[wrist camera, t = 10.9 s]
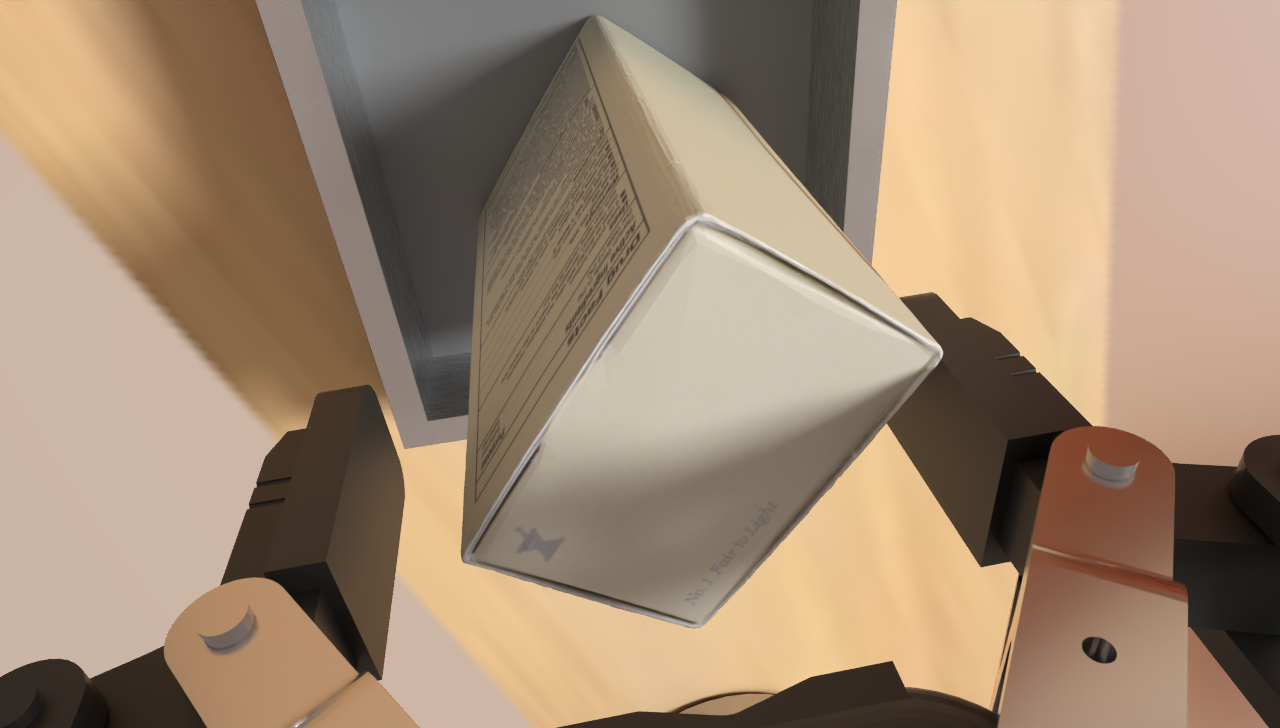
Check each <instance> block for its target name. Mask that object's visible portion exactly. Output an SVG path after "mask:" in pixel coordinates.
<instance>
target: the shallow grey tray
mask: <svg viewBox="0 0 1280 728" xmlns="http://www.w3.org/2000/svg"><path fill="white" fill-rule="evenodd" d="M255 1H256V4H257V7H258V10H259V13H260V16H261V19H262V22H263V25H264V28H265V31H266V34H267V37H268V40H269V43H270V46H271V49H272V52H273V55H274V58H275V61H276V64H277V67H278V70H279V73H280V76H281V79H282V82H283V85H284V88H285V91H286V94H287V97H288V100H289V103H290V106H291V109H292V112H293V115H294V118H295V121H296V124H297V127H298V130H299V133H300V136H301V139H302V142H303V145H304V148H305V151H306V154H307V157H308V160H309V163H310V166H311V169H312V172H313V175H314V178H315V181H316V184H317V187H318V190H319V193H320V196H321V199H322V202H323V205H324V208H325V211H326V214H327V217H328V220H329V223H330V226H331V229H332V232H333V235H334V238H335V241H336V244H337V247H338V250H339V253H340V256H341V259H342V262H343V265H344V268H345V271H346V274H347V277H348V280H349V283H350V286H351V289H352V292H353V295H354V299H355V302H356V305H357V308H358V311H359V314H360V317H361V320H362V323H363V326H364V329H365V332H366V335H367V338H368V341H369V344H370V347H371V350H372V353H373V356H374V359H375V362H376V365H377V368H378V371H379V374H380V377H381V380H382V383H383V386H384V389H385V392H386V395H387V398H388V401H389V404H390V407H391V410H392V413H393V416H394V419H395V422H396V425H397V428H398V431H399V434H400V437H401V440H402V443H403V446H404V449H408V448H414V447H420V446H427V445H433V444H440V443H446V442H452V441H459V440H465V439H467V429H468V414H469V391H470V371H471V354H472V352H467V353H460V354H453V355H446V356H440V357H434V353H433V350H432V346H431V343H430V339H429V336H428V332H427V328H426V325H425V321H424V318H423V314H422V311H421V307H420V303H419V300H418V296H417V293H416V289H415V285H414V282H413V278H412V275H411V271H410V268H409V264H408V260H407V257H406V253H405V250H404V246H403V242H402V239H401V235H400V232H399V228H398V225H397V221H396V217H395V214H394V210H393V207H392V203H391V199H390V196H389V192H388V189H387V185H386V182H385V178H384V174H383V171H382V167H381V164H380V160H379V156H378V153H377V149H376V146H375V142H374V139H373V135H372V131H371V128H370V124H369V121H368V117H367V113H366V110H365V106H364V103H363V99H362V96H361V92H360V88H359V85H358V81H357V78H356V74H355V70H354V67H353V63H352V60H351V56H350V53H349V49H348V45H347V42H346V38H345V35H344V31H343V28H342V24H341V20H340V17H339V13H338V10H337V6H336V2H335V0H255ZM896 7H897V0H813V6H812V30H811V55H810V80H809V105H808V129H807V154H806V179H805V188H806V189H807V191H808V192H809V193H810V194H811V196H812V197H813V198H814V199H815V200H816V201H817V202H818V204H819V205H820V206H821V207H822V208H823V209H824V210H825V212H826V213H827V214H828V215H829V216H830V217H831V219H832V220H833V221H834V222H835V223H836V225H837V226H838V227H839V228H840V229H841V231H842V232H843V233H844V234H845V235H846V236H847V237H848V239H849V240H850V241H851V242H852V243H853V244H854V246H855V247H856V248H857V249H858V250H859V251H860V253H861V254H862V255H863V256H864V257H865V259H866V260H867V261H868V262H869V263H870V264H871V265H872V254H873V244H874V234H875V223H876V213H877V203H878V193H879V182H880V172H881V162H882V151H883V141H884V131H885V120H886V110H887V100H888V89H889V79H890V69H891V58H892V48H893V38H894V27H895V17H896Z"/></svg>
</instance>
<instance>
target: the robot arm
mask: <svg viewBox="0 0 1280 728" xmlns="http://www.w3.org/2000/svg"><path fill="white" fill-rule="evenodd" d="M899 299H900V300H901V301H902V302H903V303H904V305H905V306H906V307H907V308H908V309H909V310H910V311H911V312H912V313H913V315H914V316H915V317H916V318H917V320H918V321H919V322H920V323H921V324H922V326H923V327H924V328H925V329H926V330H927V331H928V333H929V334H930V335H931V336H932V337H933V338H934V339H935V341H936V342H937V343H938V344H939V345H940V346H941V348H942V350H943V356H942V358H941V360H940V361H939V363H938V364H937V366H936V367H935V368H934V369H933V370H932V371H931V372H930V373H929V375H928V376H927V377H926V378H925V380H924V381H923V382H922V383H921V384H920V385H919V386H918V388H917V389H916V390H915V391H914V393H913V394H912V395H911V396H910V397H909V398H908V399H907V400H906V401H905V403H904V404H903V405H902V406H901V407H900V408H899V410H898V411H897V412H896V413H895V414H894V415H893V416H892V418H891V419H890V420H889V421H888V422H887V424H888V426H889V427H890V429H891V430H892V432H893V433H894V435H895V436H896V438H897V440H898V441H899V443H900V444H901V446H902V447H903V449H904V450H905V452H906V453H907V455H908V456H909V458H910V459H911V461H912V463H913V464H914V466H915V467H916V469H917V470H918V472H919V473H920V475H921V476H922V478H923V479H924V481H925V482H926V484H927V486H928V487H929V489H930V490H931V492H932V493H933V495H934V496H935V498H936V499H937V501H938V502H939V504H940V505H941V507H942V509H943V510H944V512H945V513H946V515H947V516H948V518H949V519H950V521H951V522H952V524H953V525H954V527H955V528H956V530H957V532H958V533H959V535H960V536H961V538H962V539H963V541H964V542H965V544H966V545H967V547H968V548H969V550H970V551H971V553H972V555H973V556H974V558H975V559H976V561H977V562H978V564H979V565H980V567H984V566H990V565H995V564H1000V563H1005V562H1010V561H1011V562H1012V564H1013V565H1014V567H1015V568H1016V570H1017V571H1018V572H1019V574H1018V578H1017V582H1016V586H1015V590H1014V595H1013V599H1012V604H1011V609H1010V614H1009V619H1008V623H1007V628H1006V633H1005V638H1004V642H1003V647H1002V652H1001V657H1000V662H999V666H998V671H997V676H996V681H995V685H994V690H993V695H992V699H991V703H990V708H989V710H988V709H986V708H984V707H982V706H980V705H977V704H975V703H972V702H970V701H967V700H964V699H962V698H959V697H956V696H952V695H949V694H945V693H941V692H937V691H932V690H926V689H920V688H910V687H904V684H903V682H902V680H901V678H900V676H899V674H898V672H897V670H896V668H895V665H894V663H893V661H890V662H885V663H880V664H875V665H870V666H865V667H860V668H855V669H849V670H844V671H839V672H834V673H829V674H824V675H819V676H814V677H810V678H808V679H806V680H804V681H802V682H800V683H798V684H796V685H794V686H792V687H790V688H788V689H785V690H783V691H781V692H779V693H777V694H775V695H771V694H743V695H734V696H727V697H723V698H719V699H715V700H711V701H707V702H704V703H701V704H699V705H696V706H693V707H691V708H688V709H686V710H684V711H682V712H680V713H661V712H639V711H638V712H633V713H628V714H623V715H618V716H613V717H608V718H603V719H598V720H593V721H588V722H583V723H578V724H573V725H568V726H563V727H558V728H1187V670H1188V668H1187V667H1188V664H1187V663H1188V662H1187V661H1188V627H1191V628H1192V630H1193V631H1194V632H1195V633H1196V635H1197V636H1198V637H1199V638H1200V640H1201V641H1202V643H1203V644H1204V645H1205V646H1206V648H1207V649H1208V650H1209V652H1210V653H1211V654H1212V655H1213V657H1214V658H1215V659H1216V660H1217V662H1218V663H1219V664H1220V666H1221V667H1222V668H1223V669H1224V671H1225V672H1226V673H1227V674H1228V676H1229V677H1230V678H1231V680H1232V681H1233V682H1234V684H1235V685H1236V686H1237V687H1238V689H1239V690H1240V691H1241V692H1242V694H1243V695H1244V696H1245V698H1246V699H1247V700H1248V701H1249V703H1250V704H1251V705H1252V707H1253V708H1254V709H1255V710H1256V712H1257V713H1258V714H1259V715H1260V717H1261V718H1262V719H1263V721H1264V722H1265V723H1266V724H1267V726H1268V727H1269V728H1280V435H1272V436H1266V437H1262V438H1259V439H1257V440H1254V441H1253V442H1251V443H1250V444H1249V445H1248V446H1247V447H1246V448H1245V451H1244V453H1243V456H1242V458H1241V460H1240V462H1239V465H1238V467H1231V466H1213V465H1195V464H1178V463H1171V461H1170V460H1169V458H1168V457H1167V456H1166V455H1165V454H1164V453H1163V452H1162V451H1161V450H1160V449H1159V448H1157V447H1156V446H1155V445H1154V444H1152V443H1150V442H1149V441H1146V440H1145V439H1143V438H1141V437H1139V436H1137V435H1135V434H1132V433H1129V432H1126V431H1123V430H1119V429H1115V428H1109V427H1100V426H1092V425H1091V424H1090V423H1089V422H1088V421H1087V420H1086V419H1085V418H1084V417H1083V416H1082V415H1081V414H1080V413H1079V412H1078V411H1077V410H1076V409H1075V408H1074V407H1073V406H1072V405H1071V404H1070V403H1069V402H1068V401H1067V400H1066V399H1065V398H1064V397H1063V396H1062V395H1061V394H1060V393H1059V392H1058V391H1057V389H1056V388H1055V387H1054V386H1053V385H1052V384H1051V383H1050V382H1049V381H1048V380H1047V379H1046V378H1045V377H1044V376H1043V375H1042V374H1041V373H1040V372H1039V373H1036V370H1035V369H1036V368H1035V367H1034V366H1033V365H1032V364H1031V363H1030V362H1029V361H1028V360H1027V359H1026V358H1025V357H1024V356H1020V352H1019V351H1018V350H1017V349H1016V348H1015V347H1014V346H1013V345H1012V344H1011V343H1010V342H1009V341H1008V340H1007V339H1006V338H1005V337H1004V336H1003V335H1002V334H1001V333H1000V332H998V331H996V330H994V329H993V328H991V327H989V326H987V325H985V324H983V323H981V322H979V321H977V320H975V319H973V318H971V317H970V318H964V319H959V318H958V316H957V315H956V314H955V313H954V312H953V311H952V310H951V309H950V308H949V307H948V306H947V305H946V304H945V302H944V301H943V300H942V299H941V298H940V297H939V296H938V295H937V294H935V293H932V292H931V293H925V294H919V295H913V296H907V297H901V298H899ZM404 499H405V489H404V479H403V473H402V468H401V464H400V461H399V457H398V455H397V452H396V449H395V446H394V444H393V441H392V438H391V435H390V432H389V430H388V427H387V424H386V421H385V418H384V416H383V413H382V410H381V407H380V404H379V402H378V399H377V396H376V394H375V392H374V390H373V388H372V387H371V386H370V385H364V386H358V387H352V388H346V389H340V390H334V391H328V392H322V393H319V394H318V395H317V396H316V398H315V401H314V405H313V408H312V411H311V415H310V418H309V421H308V425H307V428H306V429H300V430H294V431H288V432H287V433H286V434H285V435H284V436H283V437H282V439H281V440H280V441H279V442H278V443H277V444H276V445H275V446H274V448H273V449H272V450H271V451H270V452H269V453H268V455H267V456H266V457H265V459H264V462H263V465H262V468H261V471H260V474H259V476H258V479H257V488H254V491H253V494H252V496H251V500H250V502H249V507H250V508H249V509H248V510H247V511H246V513H245V516H244V519H243V522H242V525H241V528H240V530H239V533H238V536H237V539H236V542H235V545H234V548H233V550H232V553H231V556H230V559H229V562H228V565H227V567H226V571H225V573H224V576H223V579H222V582H221V585H220V586H219V587H217V588H214V589H213V590H211V591H209V592H207V593H206V594H204V595H202V596H201V597H200V598H198V599H197V600H195V601H194V602H193V603H192V604H191V605H190V606H188V607H187V608H186V609H185V610H184V611H183V612H182V613H181V615H180V616H179V617H178V618H177V620H176V621H175V622H174V623H173V625H172V627H171V629H170V630H169V632H168V634H167V637H166V640H165V645H164V646H162V647H160V648H158V649H156V650H154V651H152V652H150V653H148V654H146V655H143V656H141V657H139V658H136V659H134V660H132V661H130V662H127V663H125V664H123V665H120V666H118V667H116V668H113V669H111V670H109V671H106V672H104V673H102V674H100V675H97V676H95V677H93V678H91V679H89V678H88V676H87V675H86V674H85V673H84V671H83V670H82V669H81V668H80V667H79V666H78V665H76V664H75V663H73V662H71V661H69V660H63V659H48V660H42V661H37V662H34V663H30V664H27V665H25V666H23V667H20V668H17V669H15V670H13V671H11V672H9V673H7V674H5V675H3V676H2V677H0V728H420V727H419V726H418V725H417V724H416V723H415V722H414V721H413V720H412V719H411V717H410V716H409V715H408V714H407V713H406V712H405V711H404V710H403V708H402V707H401V706H400V705H399V704H398V703H397V702H396V701H395V699H393V697H392V696H391V695H390V694H389V693H388V692H387V691H386V689H385V688H384V687H383V686H382V685H381V684H380V683H379V682H378V680H382V675H383V667H384V658H385V650H386V643H387V634H388V627H389V619H390V610H391V603H392V596H393V587H394V580H395V572H396V564H397V556H398V548H399V540H400V532H401V524H402V516H403V508H404Z"/></svg>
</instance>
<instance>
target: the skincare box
mask: <svg viewBox="0 0 1280 728" xmlns="http://www.w3.org/2000/svg"><path fill="white" fill-rule="evenodd" d="M942 356H943V350H942V348H941V346H940V345H939V344H938V343H937V342H936V341H935V339H934V338H933V337H932V336H931V335H930V334H929V333H928V331H927V330H926V329H925V328H924V327H923V326H922V324H921V323H920V322H919V321H918V320H917V318H916V317H915V316H914V315H913V313H912V312H911V311H910V310H909V309H908V308H907V307H906V306H905V305H904V303H903V302H902V301H901V300H900V299H899V297H898V296H897V295H896V294H895V293H894V292H893V291H892V290H891V289H890V288H889V286H888V285H887V284H886V283H885V281H884V280H883V279H882V277H881V276H880V275H879V274H878V273H877V272H876V270H875V269H874V268H873V267H872V266H871V264H870V263H869V262H868V261H867V260H866V259H865V257H864V256H863V255H862V254H861V253H860V251H859V250H858V249H857V248H856V247H855V246H854V244H853V243H852V242H851V241H850V240H849V239H848V237H847V236H846V235H845V234H844V233H843V232H842V231H841V229H840V228H839V227H838V226H837V225H836V223H835V222H834V221H833V220H832V219H831V217H830V216H829V215H828V214H827V213H826V212H825V210H824V209H823V208H822V207H821V206H820V205H819V204H818V202H817V201H816V200H815V199H814V198H813V197H812V196H811V194H810V193H809V192H808V191H807V189H806V188H805V187H804V186H803V185H802V183H801V182H800V181H799V180H798V179H797V178H796V177H795V176H794V174H793V173H792V172H791V171H790V170H789V168H788V167H787V166H786V165H785V164H784V163H783V161H782V160H781V159H780V158H779V157H778V155H777V154H776V153H775V152H774V151H773V150H772V148H771V147H770V146H769V145H768V144H767V143H766V141H765V140H764V139H763V138H762V137H761V135H760V134H759V133H758V132H757V130H756V129H755V128H754V127H753V126H752V125H751V123H750V122H749V121H748V120H747V119H746V117H745V116H744V115H743V114H742V112H741V111H740V110H739V109H738V107H737V106H736V105H735V104H734V103H733V102H732V101H731V100H730V99H729V98H728V97H726V96H725V95H723V94H722V93H720V92H718V91H717V90H716V89H714V88H713V87H711V86H710V85H708V84H707V83H705V82H704V81H703V80H701V79H700V78H698V77H697V76H695V75H694V74H692V73H691V72H689V71H688V70H686V69H685V68H683V67H682V66H680V65H678V64H677V63H675V62H674V61H672V60H671V59H669V58H668V57H666V56H664V55H663V54H661V53H660V52H658V51H657V50H655V49H654V48H652V47H650V46H649V45H647V44H646V43H644V42H643V41H641V40H640V39H638V38H636V37H635V36H633V35H632V34H630V33H628V32H627V31H625V30H623V29H622V28H620V27H619V26H617V25H615V24H614V23H612V22H610V21H609V20H607V19H605V18H604V17H602V16H599V15H593V16H591V17H589V18H588V20H587V21H586V22H585V24H584V26H583V28H582V29H581V31H580V33H579V34H578V36H577V38H576V39H575V41H574V43H573V45H572V46H571V48H570V50H569V52H568V53H567V55H566V57H565V59H564V60H563V62H562V64H561V66H560V67H559V69H558V71H557V73H556V74H555V76H554V78H553V80H552V82H551V83H550V85H549V87H548V89H547V91H546V92H545V94H544V96H543V98H542V99H541V101H540V103H539V105H538V107H537V108H536V110H535V112H534V114H533V115H532V117H531V119H530V121H529V123H528V125H527V127H526V129H525V131H524V133H523V134H522V136H521V138H520V140H519V142H518V143H517V145H516V147H515V149H514V151H513V152H512V154H511V156H510V158H509V160H508V162H507V164H506V166H505V168H504V170H503V172H502V173H501V175H500V177H499V179H498V181H497V183H496V185H495V187H494V189H493V191H492V193H491V195H490V197H489V199H488V201H487V203H486V205H485V207H484V208H483V210H482V212H481V215H480V217H479V221H478V237H477V257H476V276H475V292H474V312H473V334H472V354H471V371H470V391H469V414H468V429H467V452H466V472H465V486H464V506H463V526H462V545H461V558H462V561H463V562H464V563H466V564H471V565H475V566H478V567H482V568H486V569H490V570H494V571H496V572H499V573H502V574H505V575H508V576H512V577H515V578H518V579H521V580H524V581H528V582H533V583H536V584H538V585H541V586H544V587H549V588H552V589H555V590H558V591H561V592H565V593H569V594H572V595H575V596H579V597H582V598H586V599H589V600H592V601H597V602H600V603H603V604H606V605H609V606H612V607H615V608H619V609H622V610H626V611H630V612H634V613H639V614H642V615H646V616H649V617H652V618H656V619H660V620H663V621H667V622H671V623H674V624H678V625H682V626H685V627H688V628H700V627H702V626H703V625H705V624H706V623H707V622H708V621H709V620H710V619H711V618H712V617H713V616H714V615H715V613H716V612H717V611H718V610H719V609H720V608H721V607H722V606H723V605H724V604H725V603H726V602H727V601H728V600H729V599H730V598H731V597H732V596H733V595H734V594H735V593H736V592H737V591H738V590H739V589H740V588H741V587H742V586H743V585H744V584H745V582H746V581H747V580H748V579H749V578H750V577H751V576H752V574H753V573H754V572H755V571H756V570H757V569H758V568H759V567H760V565H761V564H762V563H763V562H764V561H765V560H766V559H767V558H768V557H769V556H770V555H771V554H772V552H773V551H774V550H775V549H776V548H777V547H778V546H779V544H780V543H781V542H782V541H783V540H784V539H785V538H786V537H787V536H788V535H789V534H790V532H791V531H792V530H793V529H794V528H795V527H796V526H797V525H798V524H799V522H800V521H801V520H802V519H803V518H804V517H805V516H806V515H807V514H808V513H809V511H810V510H811V509H812V507H813V506H814V505H815V504H816V503H817V502H818V500H819V499H820V498H821V497H822V496H823V495H824V494H825V493H826V492H827V491H828V490H829V489H830V488H831V487H832V486H833V485H834V484H835V482H836V480H837V479H838V477H840V476H841V475H842V474H843V472H844V471H845V470H846V469H847V468H848V467H849V466H850V465H851V463H852V462H853V461H854V460H855V459H856V458H857V457H858V456H859V455H860V453H861V452H862V451H863V450H864V449H865V448H866V447H867V445H868V444H869V443H870V442H871V441H872V440H873V439H874V437H875V436H876V435H877V433H878V432H879V431H880V430H881V429H882V428H883V426H884V425H885V424H886V423H887V422H888V421H889V420H890V419H891V418H892V416H893V415H894V414H895V413H896V412H897V411H898V410H899V408H900V407H901V406H902V405H903V404H904V403H905V401H906V400H907V399H908V398H909V397H910V396H911V395H912V394H913V393H914V391H915V390H916V389H917V388H918V386H919V385H920V384H921V383H922V382H923V381H924V380H925V378H926V377H927V376H928V375H929V373H930V372H931V371H932V370H933V369H934V368H935V367H936V366H937V364H938V363H939V361H940V360H941V358H942Z"/></svg>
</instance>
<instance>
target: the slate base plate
mask: <svg viewBox="0 0 1280 728" xmlns="http://www.w3.org/2000/svg"><path fill="white" fill-rule="evenodd" d="M335 2H336V6H337V10H338V13H339V17H340V20H341V24H342V28H343V31H344V35H345V38H346V42H347V45H348V49H349V53H350V56H351V60H352V63H353V67H354V70H355V74H356V78H357V81H358V85H359V88H360V92H361V96H362V99H363V103H364V106H365V110H366V113H367V117H368V121H369V124H370V128H371V131H372V135H373V139H374V142H375V146H376V149H377V153H378V156H379V160H380V164H381V167H382V171H383V174H384V178H385V182H386V185H387V189H388V192H389V196H390V199H391V203H392V207H393V210H394V214H395V217H396V221H397V225H398V228H399V232H400V235H401V239H402V242H403V246H404V250H405V253H406V257H407V260H408V264H409V268H410V271H411V275H412V278H413V282H414V285H415V289H416V293H417V296H418V300H419V303H420V307H421V311H422V314H423V318H424V321H425V325H426V328H427V332H428V336H429V339H430V343H431V346H432V350H433V353H434V357H440V356H446V355H453V354H460V353H467V352H472V334H473V312H474V292H475V276H476V257H477V237H478V221H479V217H480V215H481V212H482V210H483V208H484V207H485V205H486V203H487V201H488V199H489V197H490V195H491V193H492V191H493V189H494V187H495V185H496V183H497V181H498V179H499V177H500V175H501V173H502V172H503V170H504V168H505V166H506V164H507V162H508V160H509V158H510V156H511V154H512V152H513V151H514V149H515V147H516V145H517V143H518V142H519V140H520V138H521V136H522V134H523V133H524V131H525V129H526V127H527V125H528V123H529V121H530V119H531V117H532V115H533V114H534V112H535V110H536V108H537V107H538V105H539V103H540V101H541V99H542V98H543V96H544V94H545V92H546V91H547V89H548V87H549V85H550V83H551V82H552V80H553V78H554V76H555V74H556V73H557V71H558V69H559V67H560V66H561V64H562V62H563V60H564V59H565V57H566V55H567V53H568V52H569V50H570V48H571V46H572V45H573V43H574V41H575V39H576V38H577V36H578V34H579V33H580V31H581V29H582V28H583V26H584V24H585V22H586V21H587V20H588V18H589V17H591V16H593V15H599V16H602V17H604V18H605V19H607V20H609V21H610V22H612V23H614V24H615V25H617V26H619V27H620V28H622V29H623V30H625V31H627V32H628V33H630V34H632V35H633V36H635V37H636V38H638V39H640V40H641V41H643V42H644V43H646V44H647V45H649V46H650V47H652V48H654V49H655V50H657V51H658V52H660V53H661V54H663V55H664V56H666V57H668V58H669V59H671V60H672V61H674V62H675V63H677V64H678V65H680V66H682V67H683V68H685V69H686V70H688V71H689V72H691V73H692V74H694V75H695V76H697V77H698V78H700V79H701V80H703V81H704V82H705V83H707V84H708V85H710V86H711V87H713V88H714V89H716V90H717V91H718V92H720V93H722V94H723V95H725V96H726V97H728V98H729V99H730V100H731V101H732V102H733V103H734V104H735V105H736V106H737V107H738V109H739V110H740V111H741V112H742V114H743V115H744V116H745V117H746V119H747V120H748V121H749V122H750V123H751V125H752V126H753V127H754V128H755V129H756V130H757V132H758V133H759V134H760V135H761V137H762V138H763V139H764V140H765V141H766V143H767V144H768V145H769V146H770V147H771V148H772V150H773V151H774V152H775V153H776V154H777V155H778V157H779V158H780V159H781V160H782V161H783V163H784V164H785V165H786V166H787V167H788V168H789V170H790V171H791V172H792V173H793V174H794V176H795V177H796V178H797V179H798V180H799V181H800V182H801V183H802V185H803V186H804V187H805V179H806V154H807V129H808V105H809V80H810V55H811V30H812V6H813V0H335Z"/></svg>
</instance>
